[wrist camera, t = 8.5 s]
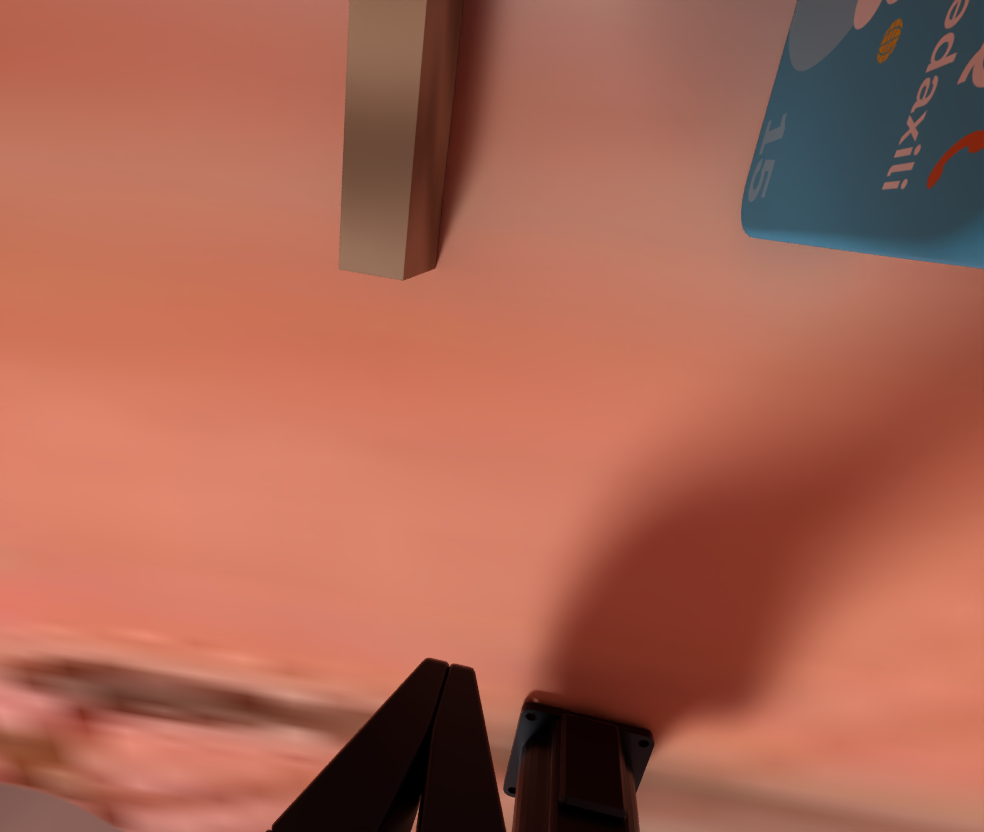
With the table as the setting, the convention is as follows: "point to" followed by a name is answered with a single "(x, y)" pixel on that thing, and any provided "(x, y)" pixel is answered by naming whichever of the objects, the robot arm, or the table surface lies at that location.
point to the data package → (876, 132)
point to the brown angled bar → (396, 133)
